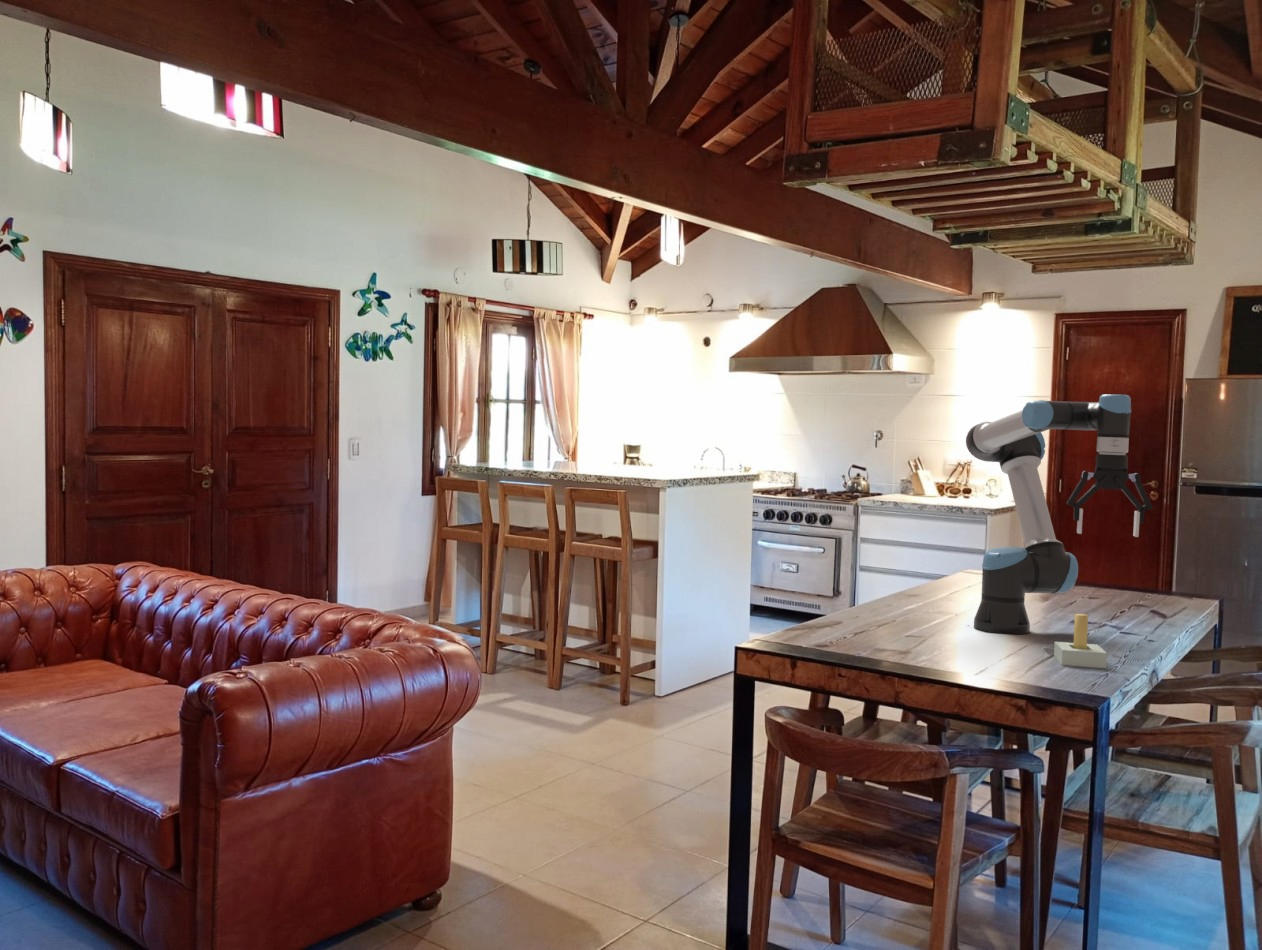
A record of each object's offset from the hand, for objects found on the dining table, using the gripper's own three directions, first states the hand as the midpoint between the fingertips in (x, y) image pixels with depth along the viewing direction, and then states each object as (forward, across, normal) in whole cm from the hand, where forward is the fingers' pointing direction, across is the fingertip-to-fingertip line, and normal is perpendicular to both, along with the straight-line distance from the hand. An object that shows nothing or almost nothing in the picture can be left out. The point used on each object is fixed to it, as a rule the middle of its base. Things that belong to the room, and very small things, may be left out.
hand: (1107, 534), depth 264 cm
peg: (+30, -8, -21) cm, 37 cm away
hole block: (+30, -8, -21) cm, 37 cm away
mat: (+30, -9, -11) cm, 33 cm away
